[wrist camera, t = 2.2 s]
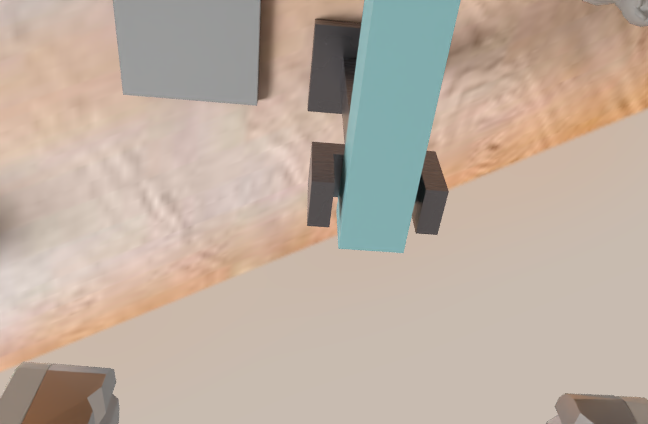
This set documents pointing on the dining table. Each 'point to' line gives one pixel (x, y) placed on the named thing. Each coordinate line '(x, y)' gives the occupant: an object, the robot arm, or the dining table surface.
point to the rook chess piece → (628, 9)
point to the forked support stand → (335, 97)
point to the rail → (391, 118)
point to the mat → (189, 49)
